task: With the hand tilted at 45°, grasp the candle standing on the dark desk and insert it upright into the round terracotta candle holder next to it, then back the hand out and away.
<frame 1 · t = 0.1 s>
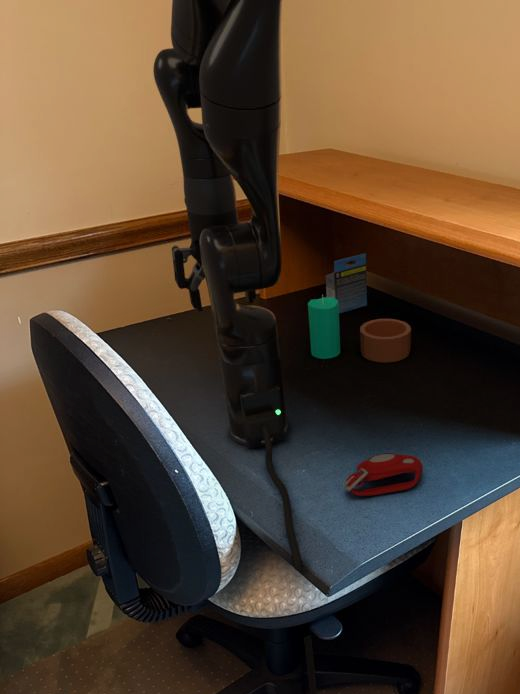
hand: (224, 305, 111), 17 cm above the table, tool pointing down, fingers open, 8 cm apart
tape cartridge: (347, 309, 154), on the table
tracker holder: (377, 482, 99), on the table
holder: (385, 351, 135), on the table
candle: (325, 353, 135), on the table
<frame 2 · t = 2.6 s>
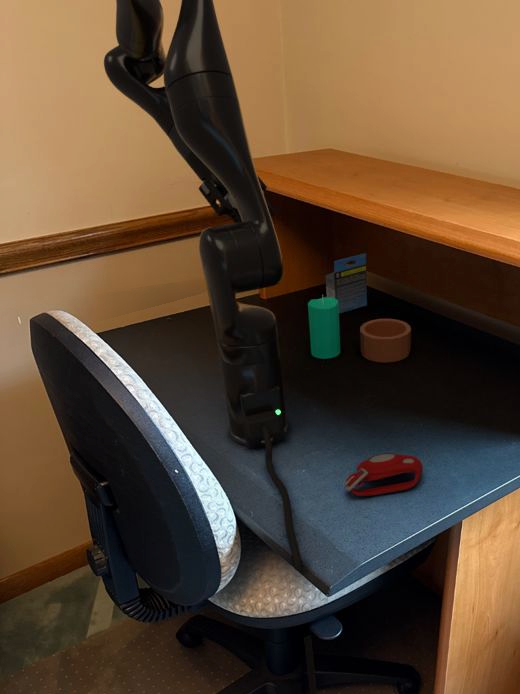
hand: (260, 222, 123), 25 cm above the table, tool tilted 40°, fingers open, 8 cm apart
nothing on the table moved.
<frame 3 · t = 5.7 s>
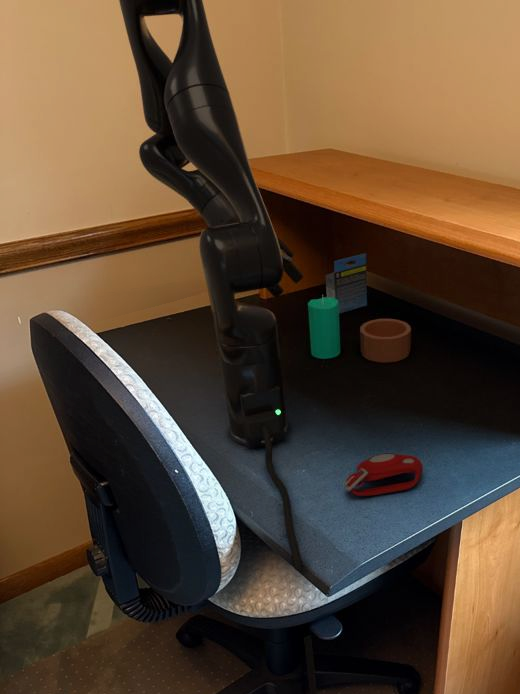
hand: (290, 287, 130), 13 cm above the table, tool tilted 45°, fingers open, 8 cm apart
nothing on the table moved.
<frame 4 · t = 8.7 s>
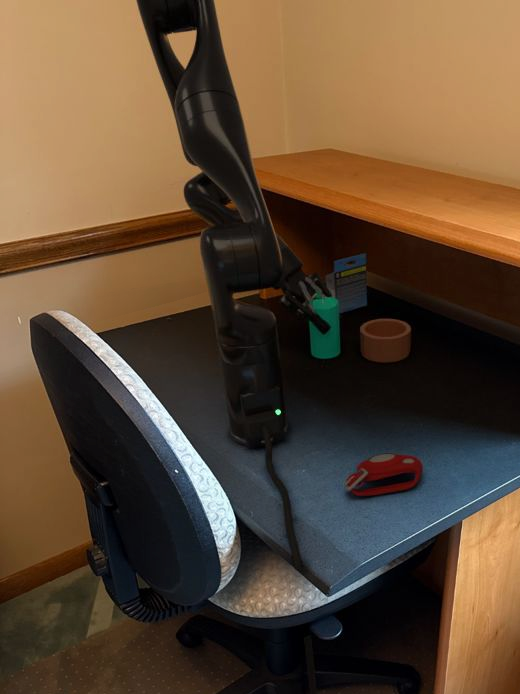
hand: (333, 325, 131), 6 cm above the table, tool tilted 45°, fingers closed on candle, 4 cm apart
candle: (325, 353, 135), on the table, touching gripper
everything else where it was.
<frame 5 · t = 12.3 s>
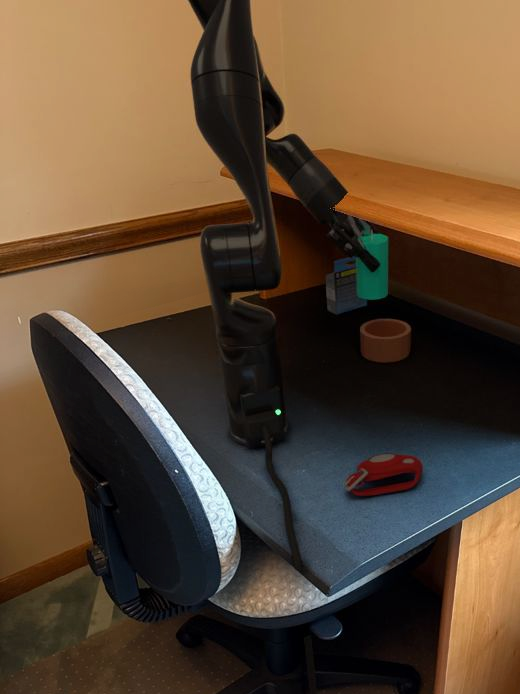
hand: (381, 264, 124), 18 cm above the table, tool tilted 45°, fingers closed on candle, 4 cm apart
candle: (372, 295, 128), point 12 cm above the table, touching gripper
everything else where it was.
when the fingers open (7 cm above the table, at t = 16.4 s): candle stays where it is, resting on holder.
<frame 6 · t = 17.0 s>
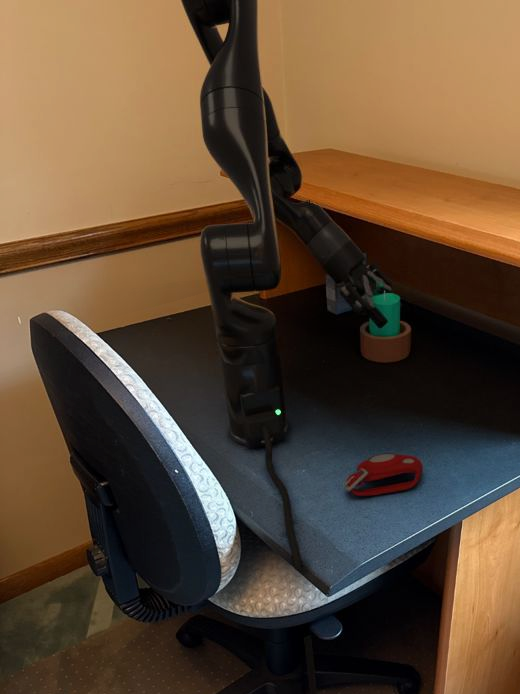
hand: (391, 317, 130), 8 cm above the table, tool tilted 45°, fingers open, 8 cm apart
candle: (384, 349, 135), resting on holder
everything else where it was.
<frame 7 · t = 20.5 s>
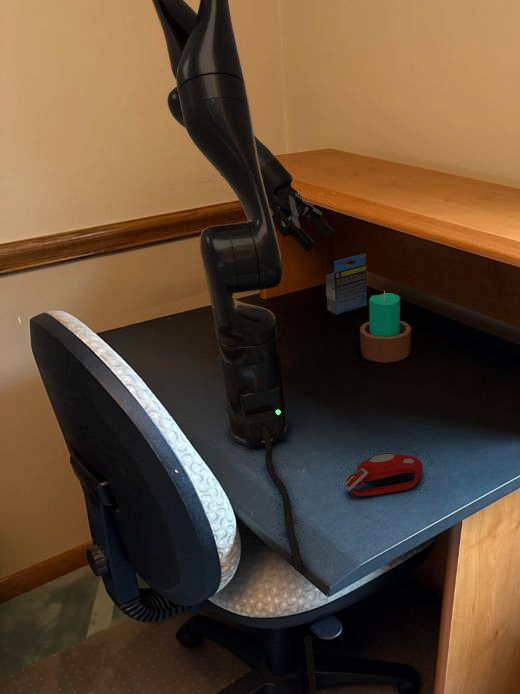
hand: (321, 241, 126), 21 cm above the table, tool tilted 45°, fingers open, 8 cm apart
nothing on the table moved.
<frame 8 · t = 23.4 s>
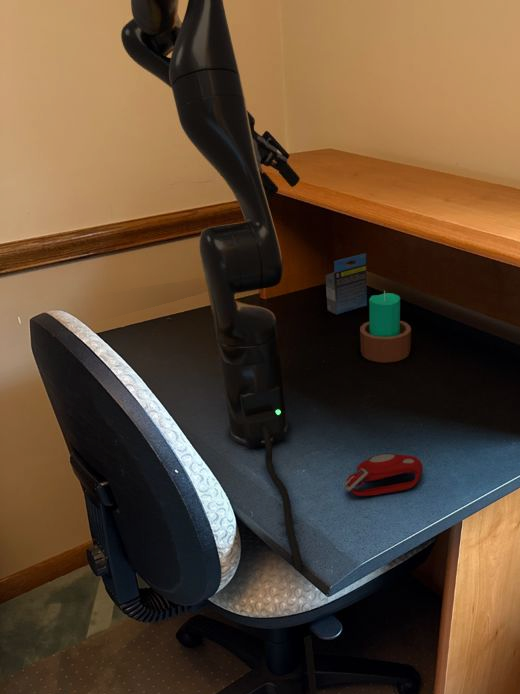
hand: (286, 188, 120), 31 cm above the table, tool tilted 45°, fingers open, 8 cm apart
nothing on the table moved.
at the end: candle 0.2 cm off-centre in the holder, point 0.4 cm above the holder's base; candle tilted 0°; the gripper is holding nothing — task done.
